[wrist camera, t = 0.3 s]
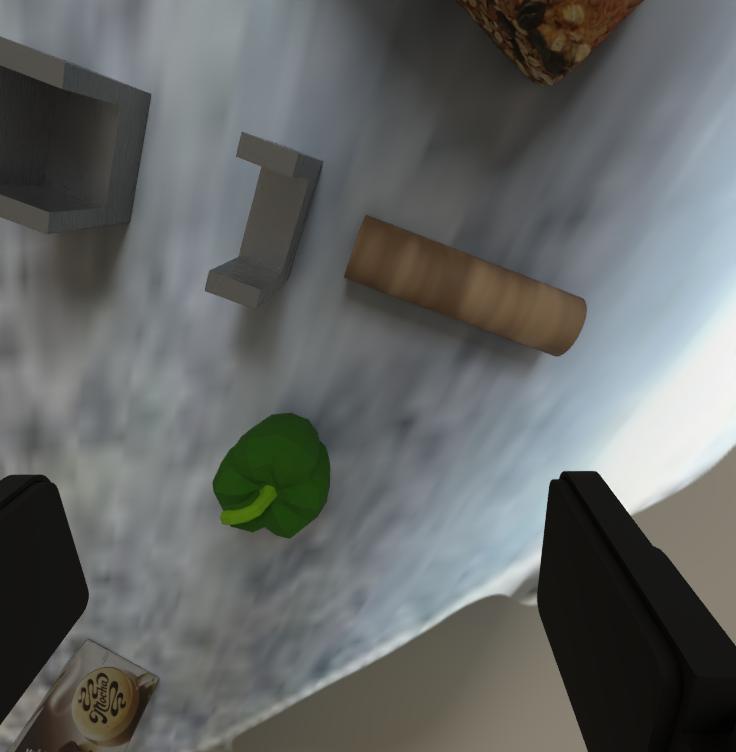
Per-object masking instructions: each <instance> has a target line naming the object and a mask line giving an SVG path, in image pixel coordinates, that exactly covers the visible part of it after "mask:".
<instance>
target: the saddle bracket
mask: <svg viewBox="0 0 736 752" xmlns="http://www.w3.org/2000/svg"><path fill="white" fill-rule="evenodd" d="M236 157H239V158H242V159H244V160H247V161H249V162H252V163H254V164H257V165H260V166H262V167H261V171H260V175H259V179H258V183H257V187H256V191H255V195H254V199H253V203H252V207H251V211H250V215H249V218H248V222H247V226H246V230H245V234H244V238H243V242H242V246H241V250H240V254H239V257H238V258H235V259H233V260H231V261H229V262H227V263H225V264H223V265H221V266H218V267H216V268H214V269H212V270H210V271H209V274H208V278H207V283H206V287H205V291H207V292H209V293H212V294H215V295H218V296H220V297H223V298H226V299H229V300H231V301H234V302H237V303H240V304H243V305H245V306H248V307H251V308H254V309H256V308H257V307H258V306H259V305H260V304H261V303H262V302H264V301H265V300H266V299H267V298H268V297H269V296H270V295H271V294H272V293H274V292H275V291H276V290H277V289H278V288H279V287H280V286H281V285H282V284H284V283H285V282H286V281H287V280H288V277H289V273H290V270H291V267H292V263H293V260H294V256H295V253H296V250H297V246H298V243H299V240H300V236H301V233H302V230H303V226H304V223H305V220H306V216H307V213H308V210H309V206H310V203H311V200H312V196H313V193H314V189H315V186H316V183H317V179H318V176H319V173H320V169H321V166H322V163H323V161H321V160H318V159H315V158H313V157H310V156H308V155H305V154H303V153H300V152H298V151H295V150H292V149H290V148H287V147H285V146H282V145H280V144H277V143H274V142H271V141H268V140H265V139H262V138H259V137H256V136H253V135H250V134H247V133H244V132H242V133H241V137H240V142H239V146H238V150H237V155H236Z"/></svg>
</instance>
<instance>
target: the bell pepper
mask: <svg viewBox="0 0 736 752" xmlns="http://www.w3.org/2000/svg"><path fill="white" fill-rule="evenodd" d="M329 487H330V463H329V457H328V453H327V450H326V447H325V445H323V444H322V443H321V442H320V441H319V437H318V433H317V432H316V430H315V429H314V427H313V426H312V424H311V423H310V421H309V420H307V419H305V418H302V417H300V416H297V415H295V414H292V413H287V414H276V415H271V416H269V417H268V418H266V419H265V420H263V421H262V422H261V423H259V424H258V425H256V426H255V427H253V428H252V429H251V430H249V431H248V432H247V433H246V434H244V435H243V436H242V437H241V438H240V440H239V441H238V443H237V444H236V445H235V446H234V447H233V448H231V449H230V450H229V452H228V453H227V455H226V456H225V458H224V459H223V461H222V463H221V465H220V467H219V469H218V471H217V474H216V476H215V478H214V480H213V490H214V493H215V495H216V497H217V499H218V501H219V503H220V505H221V507H222V509H223V512H222V513H221V517H220V519H221V521H222V524H226V525H230V526H231V527H235V528H239V529H242V530H246V531H250V532H254V531H257V530H259V529H261V528H263V527H266V528H267V529H268V530H270V531H271V532H272V533H274V534H275V535H277V536H281V537H285V538H289V539H290V538H291V537H292V536H294V535H295V534H296V533H298V532H299V531H300V530H301V529H303V528H304V527H305V526H306V525H308V524H309V523H310V522H311V521H313V520H314V519H315V518H316V517H318V515H319V513H320V512H321V510H322V508H323V507H324V505H325V504H326V502H327V497H328V492H329Z"/></svg>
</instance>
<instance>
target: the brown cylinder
mask: <svg viewBox="0 0 736 752" xmlns="http://www.w3.org/2000/svg"><path fill="white" fill-rule="evenodd" d="M344 278H347V279H349V280H352V281H355V282H358V283H360V284H363V285H366V286H368V287H371V288H374V289H376V290H379V291H382V292H384V293H387V294H390V295H392V296H395V297H398V298H400V299H403V300H406V301H408V302H411V303H414V304H417V305H419V306H422V307H425V308H427V309H430V310H433V311H435V312H438V313H441V314H443V315H446V316H449V317H451V318H454V319H457V320H459V321H462V322H465V323H467V324H470V325H473V326H476V327H478V328H481V329H484V330H486V331H489V332H492V333H494V334H497V335H500V336H502V337H505V338H508V339H510V340H513V341H516V342H518V343H521V344H524V345H526V346H529V347H532V348H535V349H537V350H540V351H543V352H545V353H548V354H551V355H553V356H560V355H562V354H564V353H565V352H566V351H568V350H569V348H570V347H571V346H572V345H573V344H574V342H575V341H576V339H577V337H578V336H579V334H580V332H581V329H582V327H583V324H584V321H585V318H586V311H587V306H586V302H585V300H584V299H583V298H580V297H578V296H575V295H573V294H570V293H567V292H565V291H562V290H560V289H557V288H554V287H552V286H549V285H547V284H544V283H542V282H539V281H536V280H534V279H531V278H529V277H526V276H523V275H521V274H518V273H516V272H513V271H510V270H508V269H505V268H503V267H500V266H497V265H495V264H492V263H490V262H487V261H484V260H482V259H479V258H477V257H474V256H471V255H469V254H466V253H464V252H461V251H458V250H456V249H453V248H451V247H448V246H446V245H443V244H440V243H438V242H435V241H433V240H430V239H427V238H425V237H422V236H420V235H417V234H414V233H412V232H409V231H407V230H404V229H401V228H399V227H396V226H394V225H391V224H388V223H386V222H383V221H381V220H378V219H375V218H373V217H370V216H368V215H366V216H365V218H364V220H363V223H362V226H361V228H360V231H359V234H358V236H357V239H356V242H355V245H354V248H353V251H352V254H351V257H350V260H349V263H348V266H347V269H346V272H345V276H344Z"/></svg>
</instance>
